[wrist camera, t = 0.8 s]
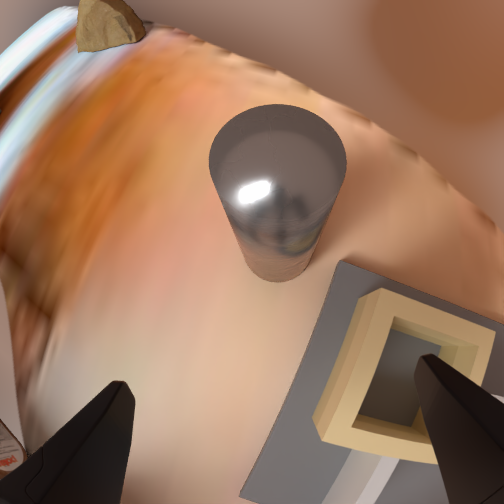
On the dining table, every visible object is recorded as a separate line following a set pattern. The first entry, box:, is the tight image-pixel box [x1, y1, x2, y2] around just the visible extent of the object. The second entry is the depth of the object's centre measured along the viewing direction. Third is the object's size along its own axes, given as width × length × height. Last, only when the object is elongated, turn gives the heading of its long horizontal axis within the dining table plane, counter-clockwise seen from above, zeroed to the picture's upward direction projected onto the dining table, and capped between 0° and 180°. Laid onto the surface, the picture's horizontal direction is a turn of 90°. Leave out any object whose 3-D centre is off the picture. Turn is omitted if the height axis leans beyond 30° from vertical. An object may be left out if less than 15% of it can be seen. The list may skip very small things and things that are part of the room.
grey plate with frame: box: [239, 260, 504, 504], centre depth 16 cm, size 19×19×6 cm
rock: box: [76, 0, 146, 53], centre depth 29 cm, size 11×9×10 cm
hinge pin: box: [209, 104, 347, 282], centre depth 17 cm, size 5×5×12 cm
